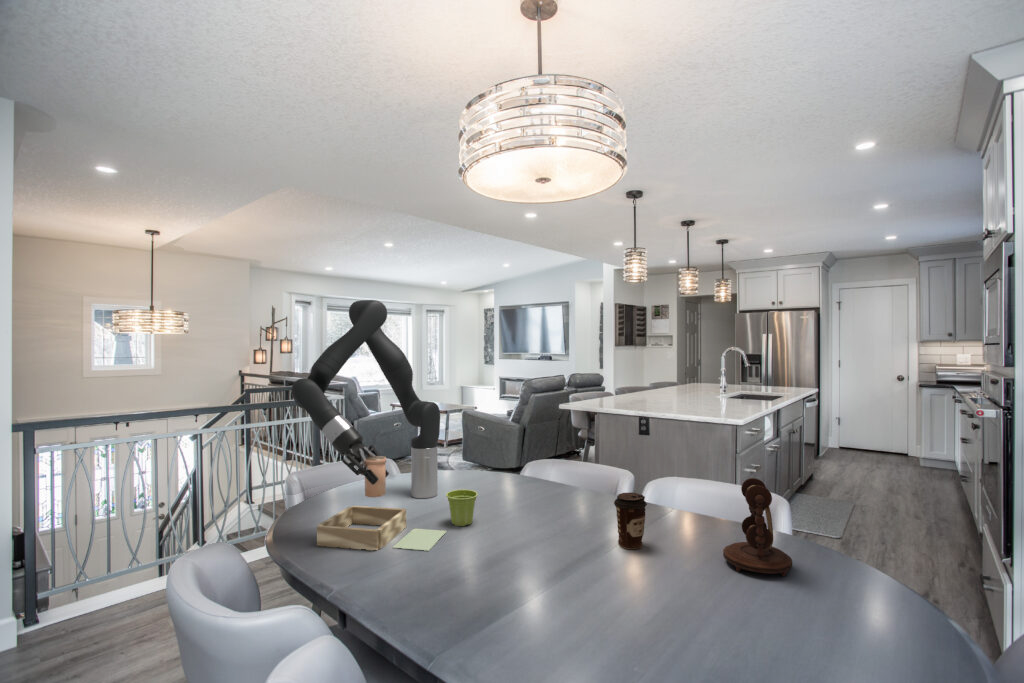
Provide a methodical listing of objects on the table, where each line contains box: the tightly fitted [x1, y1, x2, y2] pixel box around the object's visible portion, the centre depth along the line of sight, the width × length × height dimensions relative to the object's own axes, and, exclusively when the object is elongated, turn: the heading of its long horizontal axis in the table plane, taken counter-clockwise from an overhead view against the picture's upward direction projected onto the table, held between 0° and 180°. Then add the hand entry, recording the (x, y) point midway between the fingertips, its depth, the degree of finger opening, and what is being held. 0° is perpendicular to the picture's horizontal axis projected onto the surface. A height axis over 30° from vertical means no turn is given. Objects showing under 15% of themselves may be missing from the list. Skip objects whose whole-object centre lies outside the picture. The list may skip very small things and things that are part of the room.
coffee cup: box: [613, 492, 648, 550], centre depth 134 cm, size 9×8×13 cm
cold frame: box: [316, 505, 407, 551], centre depth 142 cm, size 18×18×5 cm
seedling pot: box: [364, 455, 387, 498], centre depth 142 cm, size 6×6×10 cm
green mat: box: [392, 528, 448, 552], centre depth 138 cm, size 14×10×1 cm
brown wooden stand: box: [722, 477, 793, 578], centre depth 121 cm, size 15×15×20 cm
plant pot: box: [445, 489, 478, 527], centre depth 152 cm, size 9×9×9 cm
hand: (381, 479), depth 141 cm, fingers closed on seedling pot, 5 cm apart
